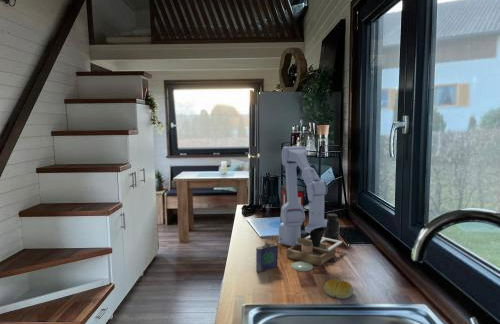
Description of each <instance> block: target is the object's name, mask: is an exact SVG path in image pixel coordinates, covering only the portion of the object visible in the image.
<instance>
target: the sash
mask: <svg viewBox="0 0 500 324" xmlns="http://www.w3.org/2000/svg"><path fill="white" fill-rule="evenodd" d="M326 240H327V241H326ZM324 241H326V243H325V242H324ZM329 241H332V242H331V243H334V244H333V245H330V246H329V244H328V243H327V242H329ZM302 243H311V244H312V240H311V237H310V234H309V235H308V236H305V237H301V238H298V242H296V244H298V245H302ZM342 243H343V241H342V240H334V239H329V238H324V236H322V238H321V242H320V246H319V247H314V246H313V248H315V249H320V250H324V251H328V252H329V251H331V250H332V249H334V248H335V249H336V248H337V247H338V246H340V245H341V244H342ZM328 247H329V248H328Z"/></svg>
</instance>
